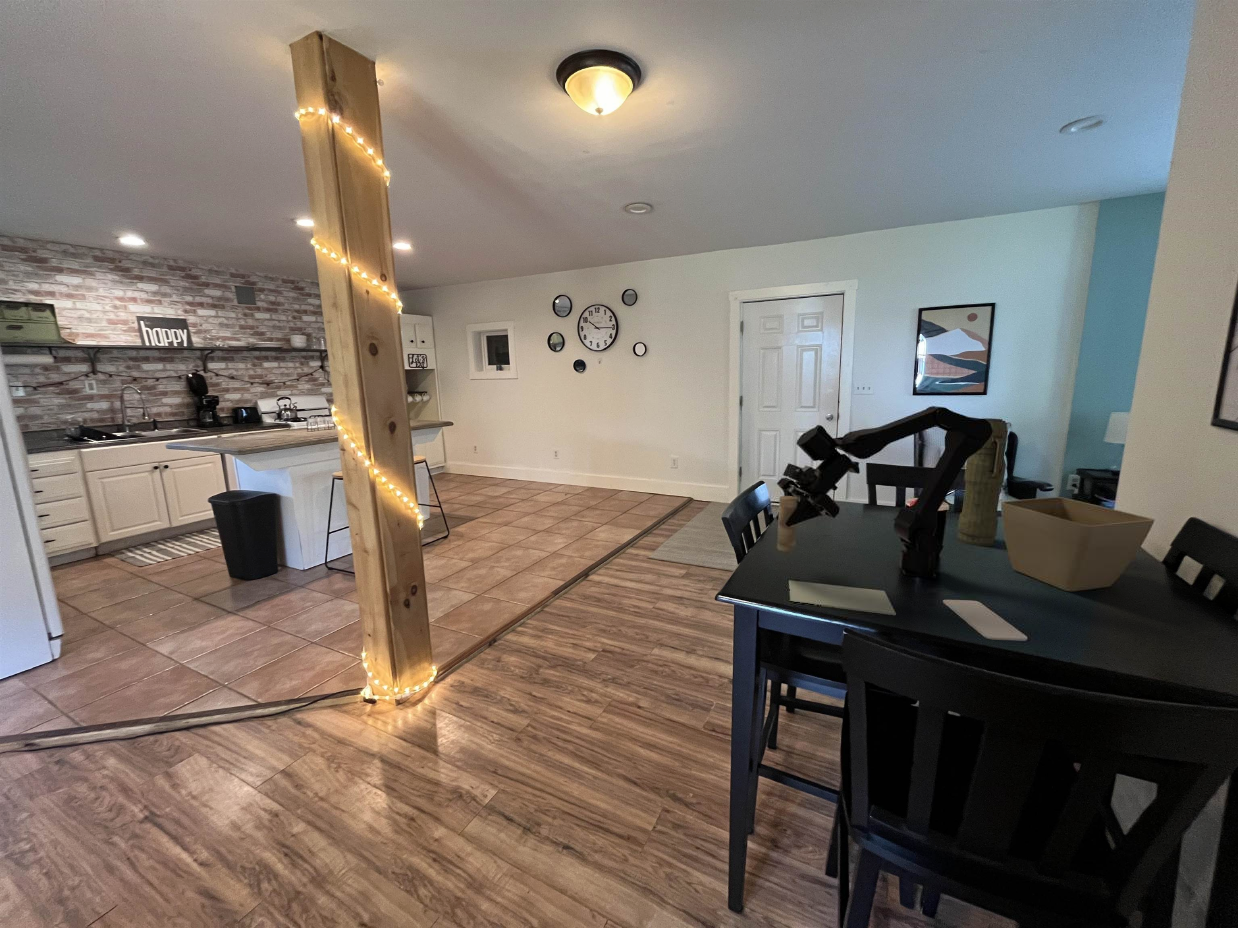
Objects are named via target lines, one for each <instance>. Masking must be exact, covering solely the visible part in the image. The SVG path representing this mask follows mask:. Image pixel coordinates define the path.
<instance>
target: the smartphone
mask: <svg viewBox="0 0 1238 928" xmlns="http://www.w3.org/2000/svg"><path fill="white" fill-rule="evenodd" d="M942 602H943V604H944V605H946V606H947V607H948V608H949V609H951V611H953V612H954V613H955V614H956V615H958V616H959V618H961V619H963V621H965V622H966V623H967V624H968V625H969V626H970V627H972V628H973V629H974V630H975V631H977V632H978V633H979V634H980V635H982V636H983V637H984V638H986V639H987V640H988V639H989V640H997V641H998V640H999V641H1022V642H1025V641H1027V640H1028V636H1026V634H1024V633H1023V632H1021V631H1020V630H1018V629H1017V628H1016V627H1014V626H1013V625H1012V624H1010V623H1009V622H1007V621H1006V620H1004V618H1002V617H1001V616H999V615H997V614H996V613H995V612H993V610H990V609H989V608H988V606H985V605H984V604H983V603H981V602H980V601H977V600H965V599H964V600H963V599H962V600H961V599H943V600H942Z"/></svg>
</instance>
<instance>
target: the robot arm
mask: <svg viewBox="0 0 1238 928" xmlns="http://www.w3.org/2000/svg"><path fill="white" fill-rule="evenodd" d="M934 427H938V428H939V429H940V430H943V431H945V435H944V450H943V452H942V454H941V456H940V458H939V460H938V461H937V463H936V464H935V467H934V468H933V470H932V472H931V474H930V476H929V477H928V479H927V481H926V482H925V485H924V486H923V488H922V490H921V491H920V493H919V495H918V497H917V498H916V501H915V502H914V503H913V504H912V505H910V506H909V507H906V506H903V505H902V506H901V507H900V509H899V511H898V513H897V515H896V517H895V518H893V522H894V524H893V529H894V532H895V534H896V535H897V536H898V537H899V541H900V542H901V543H903V546H902V549H900V551H899V558H898V566H899V568H900V569H901V570H902V572H903V574H904V575H906V576H911V577H913V576H914V577H923V578H932V579H935V578H937V574H935V563H936V555H940V554H941V553H942V551H943V549H944V545H943V544H942V543H941V542H940V541H939V540H938V539H937V538H936V537H935V536H934V535H935V532H936V530H937V527H938V526H937V525H938V524H937V523H938V522H937V520H938V519H937V517H938V516H937V515H938V511H939V510H940V508H941V507H942V505H943V503H944V501H945V499H946V498H947V496H948V494H949V492H950V490H951V489H952V487H953V486H954V484H955V482H956V480H957V478H958V477H959V474H960V472H961V471H962V469H964V465H966V462H967V460H968V458H969V457H970V456H972V455H973V454H975V453H976V452H978V451H979V450H980V449H982V447H983V446H984V445H985V444H986V443H987V441H988V440H989V439H990V437H991V436H992V433H993V429H992V427H991V424H990V423H989V422H988V421H987V420H985V419H982V418H979V417H972V416H966V415H964V414H961V413H958V412H955V411H953V410H951V409H949V408H947V407H943V406H936V405H934V406H933V405H932V406H928V407H927V408H925V409H923V410H921V411H918V412H915V413H912V414H909V415H908V416H905V417H902V418H899V419H897V420H894V421H892V422H889V423H886V424H884V425H881V426H879V427H871V428H870V427H869V428H862V429H857V430H853V431H849V432H847V433H845V434H844V435H843V436H840V437H832V435H830V434H829V432H827V430H826V428H825V427H824V426H823V425H820V424H817V425H816V426H815V427H813V428H810V429H809V430H808V431H806V432H803V433H802V434H800V435H801V436H799V438H798V439H797V441H796V445H797V446H798V447H799V449H801V450H802V451H803V452H804V453H805V454H806V455H807V456H808V458H809V459H811V460H812V461H813V462H817V461H820V464H818V466H817V467H816V468H814V467H812V466H808V465H804V466H803V467H800V466H797V465H795V464H792V463H789V462H788V463H787V466H786V468H785V469H784V471H783V474H782V476H783V477H781V478H780V479H779V480H778V481H777V483H776V485H777V486H778V487H779V488H780V489H781V490H782V491H783V496H793V497H796V498H798V502H797V509H796V510H795V511H794V512H793V514H792V515H791V516H790V517H789V519H788V520H787V521H786V523H785V525H786V526H788V527H790V526H792V525H795V524H796V525H798V524H800V523H802V522H806V521H808V520H811V519H812V520H813V519H815V518H817V517H823V516H824V515H823V514H822V513H823V511H824V513H825V516H826V517H828V518H831V519H833V520H834V519H836V517H838V515H839V514H840V513H841V512H840V511H841V510H840V509H841V507H840V506H839V505H838V504H837V503H836V502H835V501H834V499H833V498H831V496H830V495H829V494H828V493H829V492H831V491H837V489H839V487H837V485H836V484H838V483H839V482H840V481H841V480H842V479H843V477H844V476H845V475H847V473H848V472H849V473H852V474H857V475H858V474H860V473H861V471H860V470H861V469H860V466H859V465H860V462H859V461H854V460H853V461H852V459H851V458H850V457H849V456H851V457H853V458H856V459H859V460H866V459H869V458H871V457H873V456H874V455H877V454H878V453H880V452H881V451H883V449H885V448H886V447H887V446H888V445H891V443H895V442H897V441H900V440H903V439H905V438H907V437H911V436H914V435H916V434H919V433H921V432H924V431H926V430H929V429H933V428H934ZM839 451H842V452H843V453H840V452H839ZM775 519H776V520H777V521H778V519H779V511H778V513H777V514H776V517H775Z"/></svg>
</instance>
